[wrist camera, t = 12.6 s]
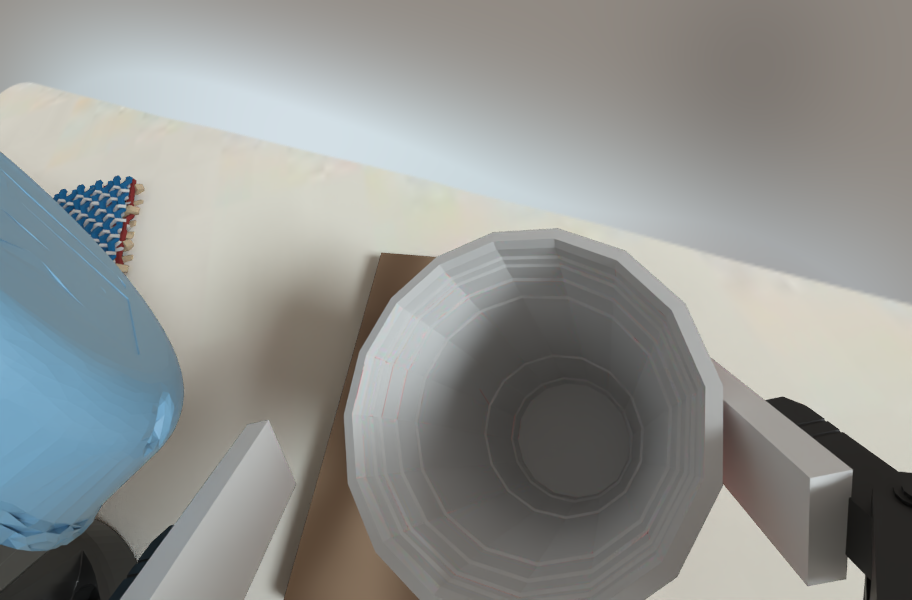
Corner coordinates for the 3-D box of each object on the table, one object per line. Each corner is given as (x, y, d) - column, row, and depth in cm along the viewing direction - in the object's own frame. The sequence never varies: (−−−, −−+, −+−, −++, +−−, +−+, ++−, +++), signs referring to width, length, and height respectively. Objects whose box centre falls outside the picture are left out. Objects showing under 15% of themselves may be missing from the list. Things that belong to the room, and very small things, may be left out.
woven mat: (5, 323, 34) (-25, 312, 32) (40, 212, 39) (16, 198, 37) (133, 294, 33) (110, 281, 32) (152, 185, 38) (134, 169, 36)
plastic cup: (465, 344, 26) (344, 255, 16) (666, 322, 22) (678, 186, 12) (466, 556, 22) (304, 620, 12) (712, 572, 18) (790, 687, 8)
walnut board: (293, 603, 23) (281, 608, 22) (386, 261, 31) (381, 252, 29) (625, 692, 19) (630, 703, 18) (633, 282, 27) (637, 273, 26)
